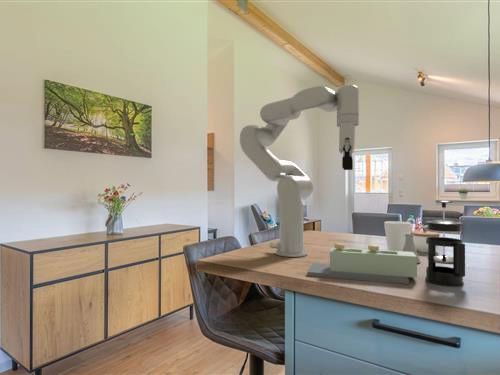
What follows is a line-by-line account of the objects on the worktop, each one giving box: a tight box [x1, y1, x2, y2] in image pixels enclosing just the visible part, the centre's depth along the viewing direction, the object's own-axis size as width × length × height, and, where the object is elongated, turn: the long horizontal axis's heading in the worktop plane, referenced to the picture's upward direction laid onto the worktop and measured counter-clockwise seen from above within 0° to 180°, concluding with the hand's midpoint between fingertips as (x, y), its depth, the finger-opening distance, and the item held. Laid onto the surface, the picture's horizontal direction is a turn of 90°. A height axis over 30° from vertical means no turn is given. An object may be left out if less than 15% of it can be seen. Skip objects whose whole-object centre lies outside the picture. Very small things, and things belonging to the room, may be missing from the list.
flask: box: [403, 233, 421, 264], centre depth 119 cm, size 7×7×10 cm
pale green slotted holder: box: [329, 247, 418, 279], centre depth 101 cm, size 24×7×6 cm, turn 71°
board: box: [307, 243, 410, 285], centre depth 102 cm, size 28×13×9 cm, turn 72°
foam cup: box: [383, 220, 412, 251], centre depth 129 cm, size 10×9×13 cm
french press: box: [425, 200, 466, 287], centre depth 93 cm, size 12×9×23 cm
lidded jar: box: [410, 228, 441, 253], centre depth 139 cm, size 11×11×9 cm
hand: (347, 169), depth 118 cm, fingers open, 9 cm apart
